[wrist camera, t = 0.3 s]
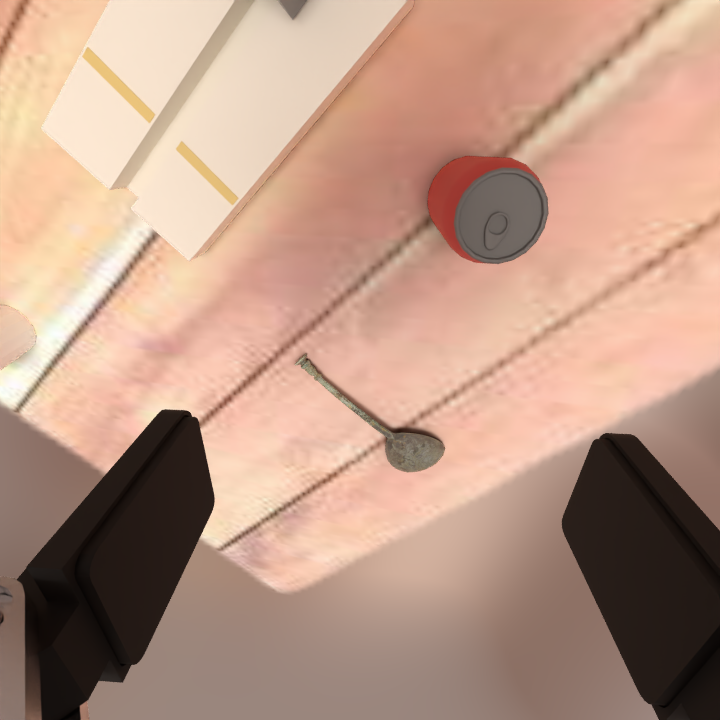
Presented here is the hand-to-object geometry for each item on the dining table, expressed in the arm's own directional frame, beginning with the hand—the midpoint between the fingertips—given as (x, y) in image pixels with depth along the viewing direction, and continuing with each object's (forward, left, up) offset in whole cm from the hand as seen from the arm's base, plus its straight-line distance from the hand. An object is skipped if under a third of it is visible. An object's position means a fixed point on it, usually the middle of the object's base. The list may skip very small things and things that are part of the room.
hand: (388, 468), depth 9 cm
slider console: (+1, -18, -30) cm, 35 cm away
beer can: (-7, +2, -30) cm, 31 cm away
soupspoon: (+15, +14, -31) cm, 37 cm away
